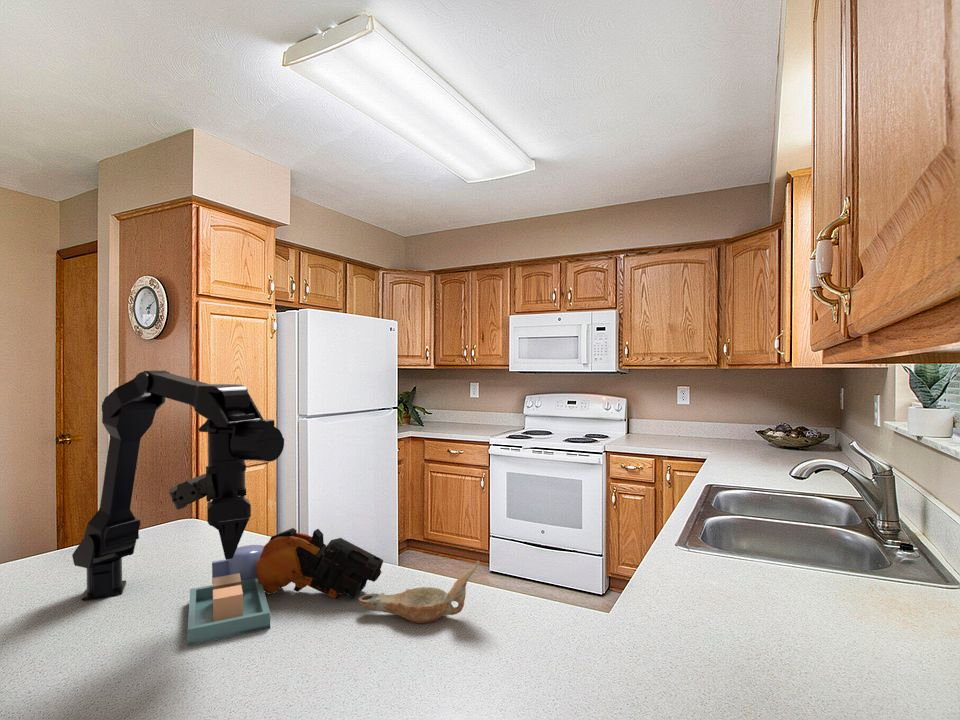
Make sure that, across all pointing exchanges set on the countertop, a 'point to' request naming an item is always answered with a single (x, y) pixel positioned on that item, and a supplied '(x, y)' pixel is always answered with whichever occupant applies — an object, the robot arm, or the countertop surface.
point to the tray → (207, 630)
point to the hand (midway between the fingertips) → (227, 550)
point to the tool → (315, 564)
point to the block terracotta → (227, 603)
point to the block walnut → (226, 581)
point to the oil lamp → (421, 601)
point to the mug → (239, 563)
